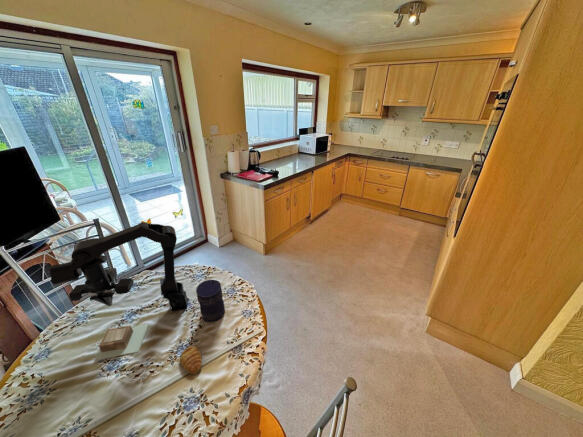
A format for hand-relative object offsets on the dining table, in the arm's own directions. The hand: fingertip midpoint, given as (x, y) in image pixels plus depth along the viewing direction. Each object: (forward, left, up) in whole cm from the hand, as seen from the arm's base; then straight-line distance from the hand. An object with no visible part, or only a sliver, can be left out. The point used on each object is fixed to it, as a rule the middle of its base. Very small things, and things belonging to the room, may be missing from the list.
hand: (110, 305), depth 90 cm
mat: (-4, +8, -12) cm, 15 cm away
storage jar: (-37, +2, -12) cm, 39 cm away
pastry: (-31, +22, -12) cm, 40 cm away
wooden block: (-6, +8, -10) cm, 14 cm away
